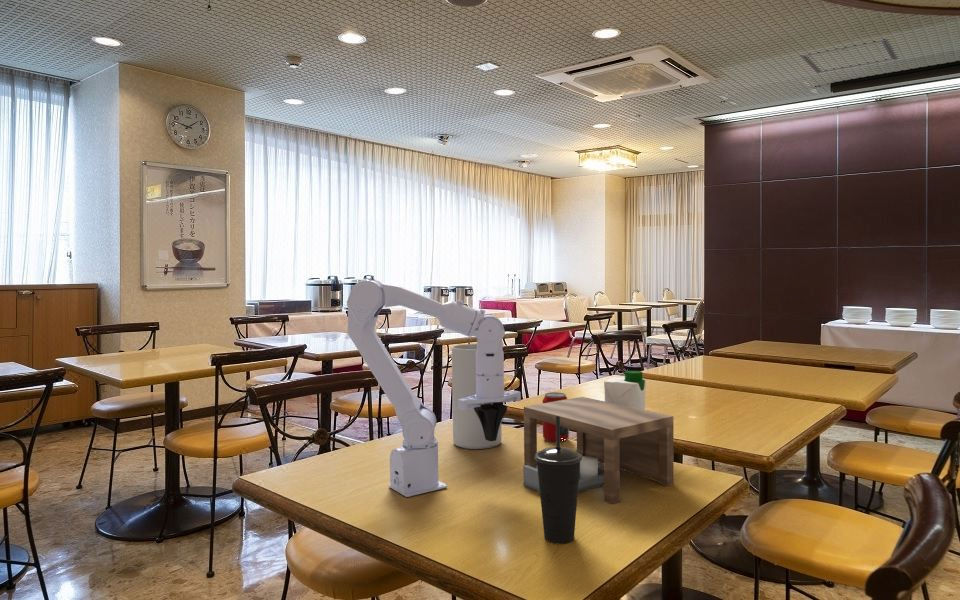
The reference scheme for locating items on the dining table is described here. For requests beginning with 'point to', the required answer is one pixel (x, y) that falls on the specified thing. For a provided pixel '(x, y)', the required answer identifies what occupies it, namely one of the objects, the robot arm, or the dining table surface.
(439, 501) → the dining table surface
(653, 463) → the wooden side table
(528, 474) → the tray
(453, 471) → the dining table surface
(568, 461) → the drinking cup
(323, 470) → the dining table surface
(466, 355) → the cylinder vase
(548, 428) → the beverage can
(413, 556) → the dining table surface
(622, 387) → the milk carton
